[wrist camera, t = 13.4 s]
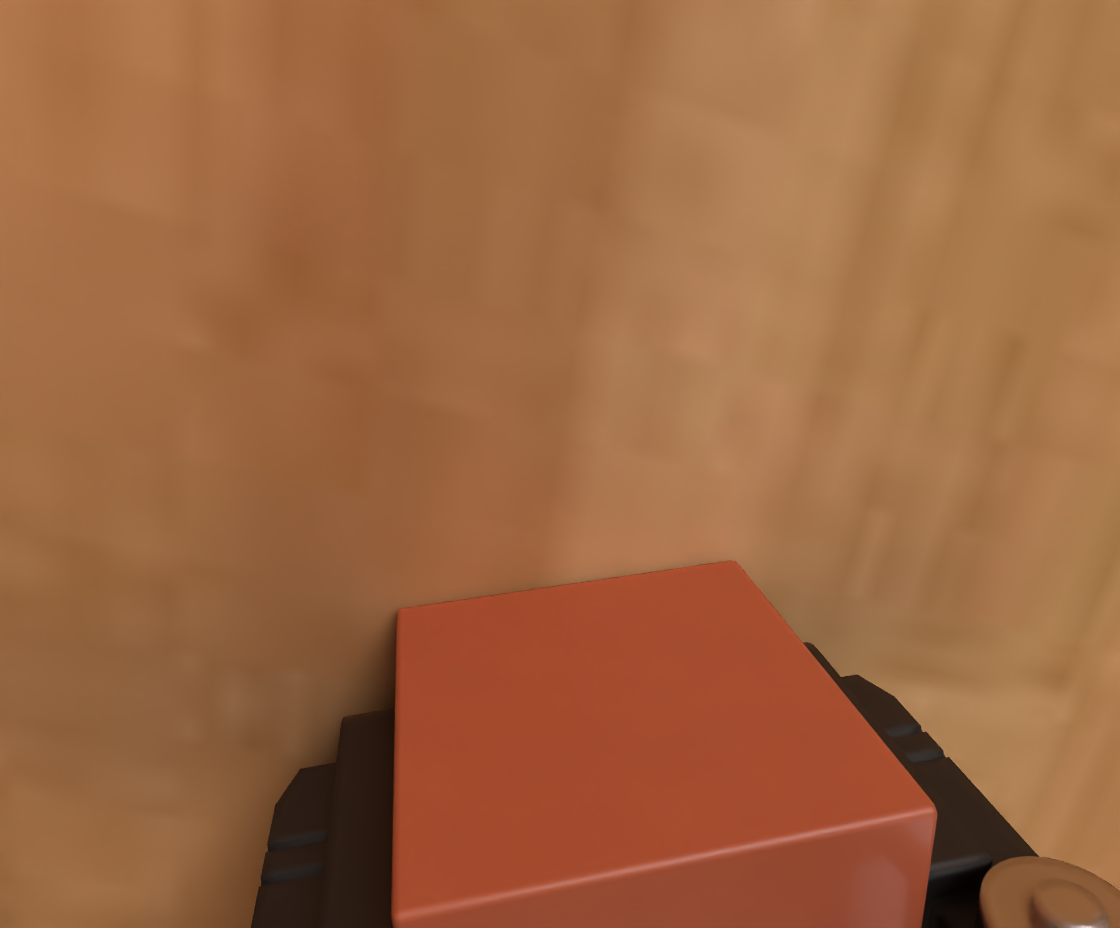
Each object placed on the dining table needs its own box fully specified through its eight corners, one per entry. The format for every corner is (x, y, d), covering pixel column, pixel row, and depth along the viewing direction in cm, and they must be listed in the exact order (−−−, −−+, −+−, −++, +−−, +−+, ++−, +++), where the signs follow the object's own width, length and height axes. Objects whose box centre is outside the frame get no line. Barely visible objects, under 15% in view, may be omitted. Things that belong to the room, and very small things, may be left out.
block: (395, 607, 9) (389, 918, 6) (736, 557, 10) (942, 809, 6) (438, 872, 11) (455, 1259, 7) (730, 815, 12) (893, 1145, 8)
